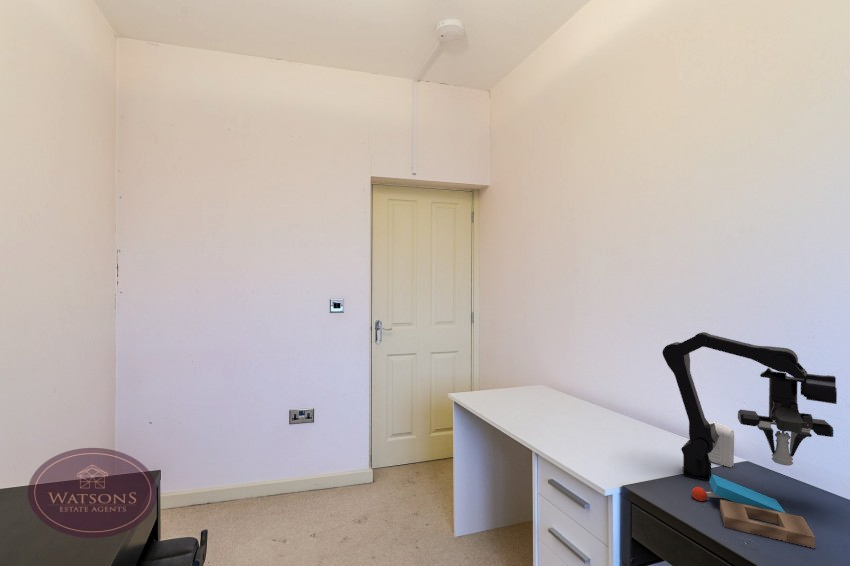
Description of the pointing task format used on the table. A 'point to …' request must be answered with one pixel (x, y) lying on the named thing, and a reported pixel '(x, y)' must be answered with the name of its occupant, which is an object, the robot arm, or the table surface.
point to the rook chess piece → (782, 449)
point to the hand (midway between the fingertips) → (782, 454)
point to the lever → (736, 494)
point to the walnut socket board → (788, 528)
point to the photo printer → (723, 446)
